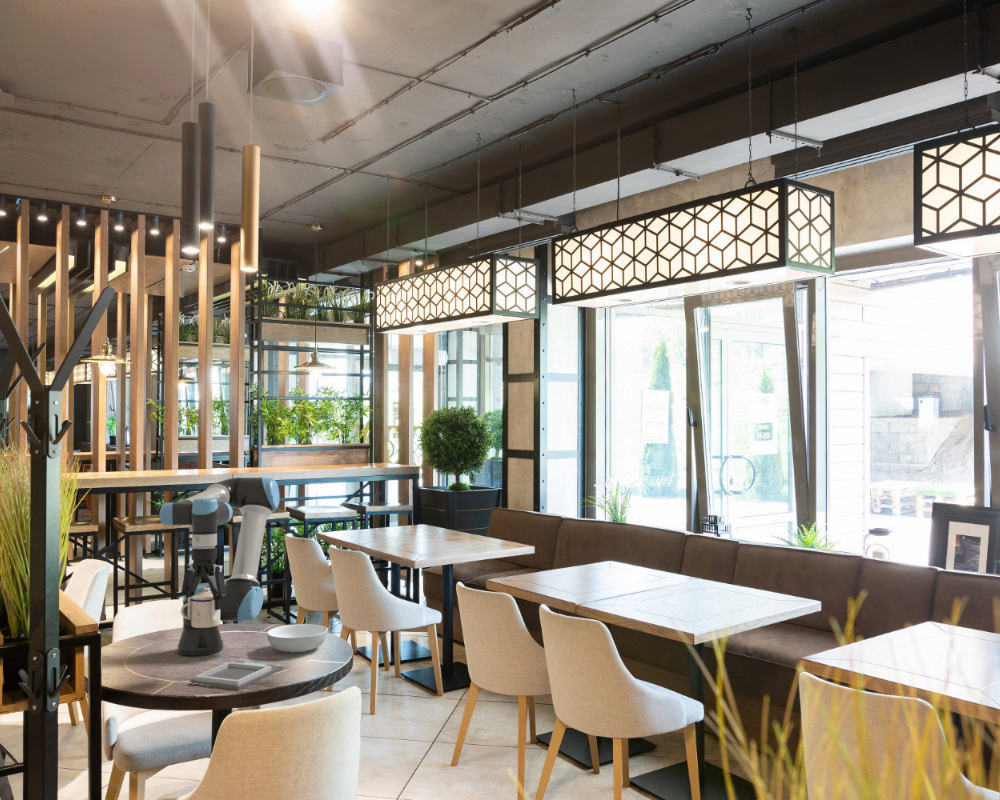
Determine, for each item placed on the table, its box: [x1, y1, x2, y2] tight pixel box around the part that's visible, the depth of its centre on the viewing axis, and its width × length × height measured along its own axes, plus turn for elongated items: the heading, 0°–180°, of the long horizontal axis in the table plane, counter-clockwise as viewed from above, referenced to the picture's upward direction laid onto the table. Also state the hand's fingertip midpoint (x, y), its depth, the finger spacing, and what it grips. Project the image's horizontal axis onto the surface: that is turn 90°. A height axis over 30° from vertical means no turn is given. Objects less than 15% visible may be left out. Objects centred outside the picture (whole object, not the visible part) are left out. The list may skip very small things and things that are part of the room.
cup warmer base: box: [189, 660, 283, 691], centre depth 255 cm, size 18×22×2 cm
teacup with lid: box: [180, 588, 221, 628], centre depth 257 cm, size 12×9×12 cm
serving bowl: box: [266, 623, 329, 653], centre depth 286 cm, size 21×21×7 cm
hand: (203, 618), depth 256 cm, fingers closed on teacup with lid, 9 cm apart
